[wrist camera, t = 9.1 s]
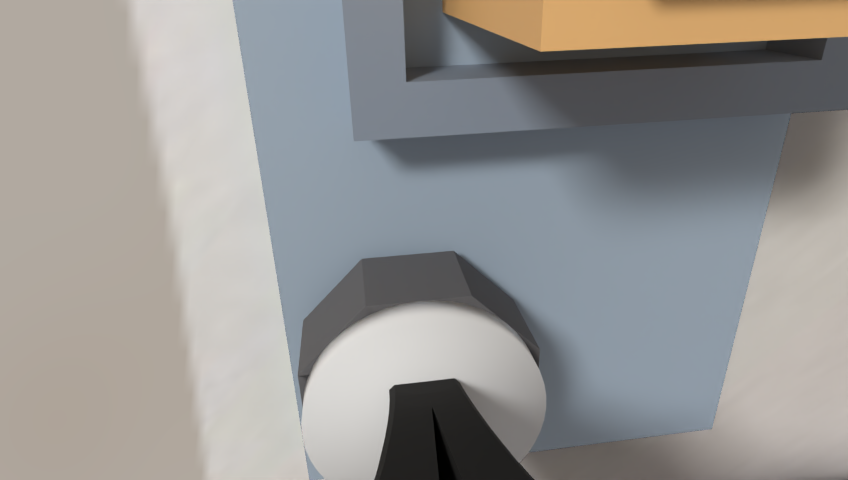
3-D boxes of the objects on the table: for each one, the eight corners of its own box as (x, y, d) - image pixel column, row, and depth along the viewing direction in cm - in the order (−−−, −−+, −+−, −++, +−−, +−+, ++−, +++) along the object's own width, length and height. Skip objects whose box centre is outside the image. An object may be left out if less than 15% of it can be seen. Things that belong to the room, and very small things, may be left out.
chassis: (696, 410, 18) (750, 476, 16) (310, 458, 17) (306, 538, 14) (878, -371, 10) (1039, -473, 8) (178, -397, 9) (120, -529, 6)
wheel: (508, 412, 15) (539, 492, 13) (319, 435, 15) (316, 523, 12) (516, 245, 13) (554, 305, 11) (294, 264, 13) (285, 331, 10)
